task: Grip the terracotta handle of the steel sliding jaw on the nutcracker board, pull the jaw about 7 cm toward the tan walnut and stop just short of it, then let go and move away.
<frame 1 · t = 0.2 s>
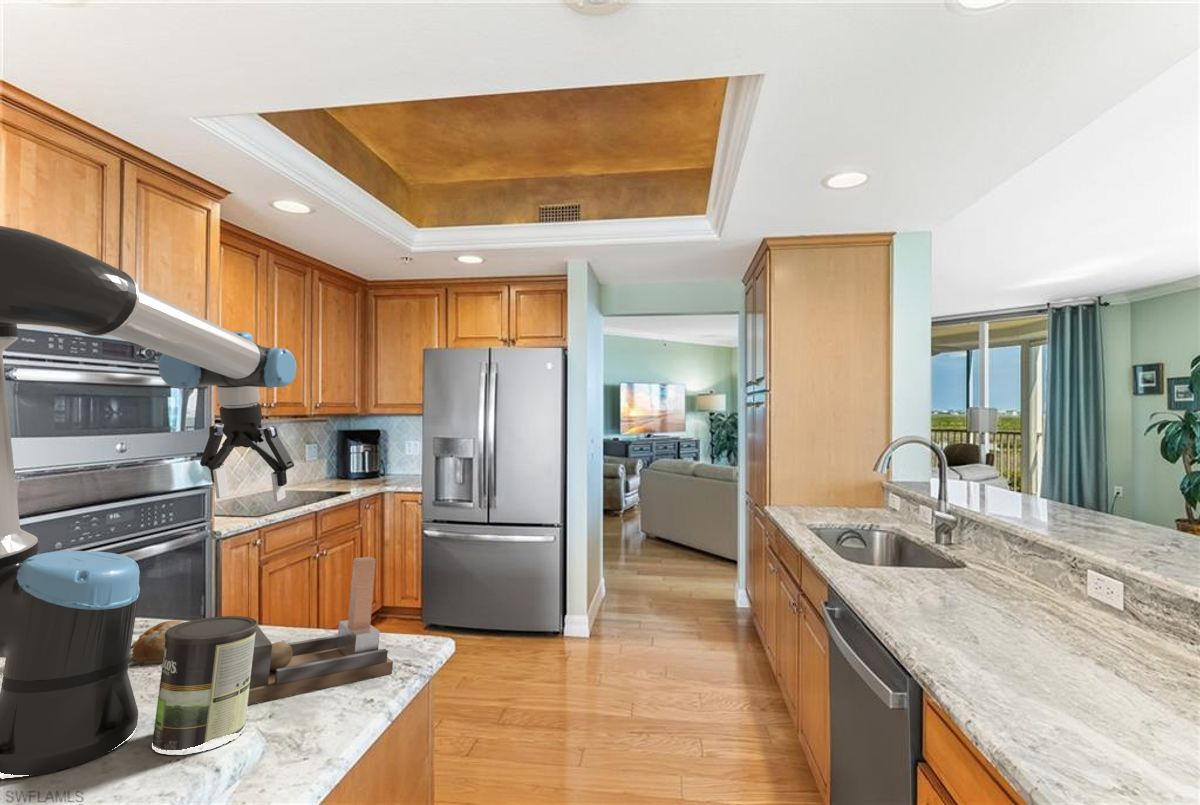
hand: (251, 498, 121), 28 cm above the counter, tool tilted 20°, fingers open, 13 cm apart
coffee can: (200, 737, 72), on the counter
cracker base: (313, 674, 94), on the counter
sliding jaw: (360, 605, 100), point 11 cm above the counter, slide at 0.0 cm
bread roll: (164, 657, 100), on the counter
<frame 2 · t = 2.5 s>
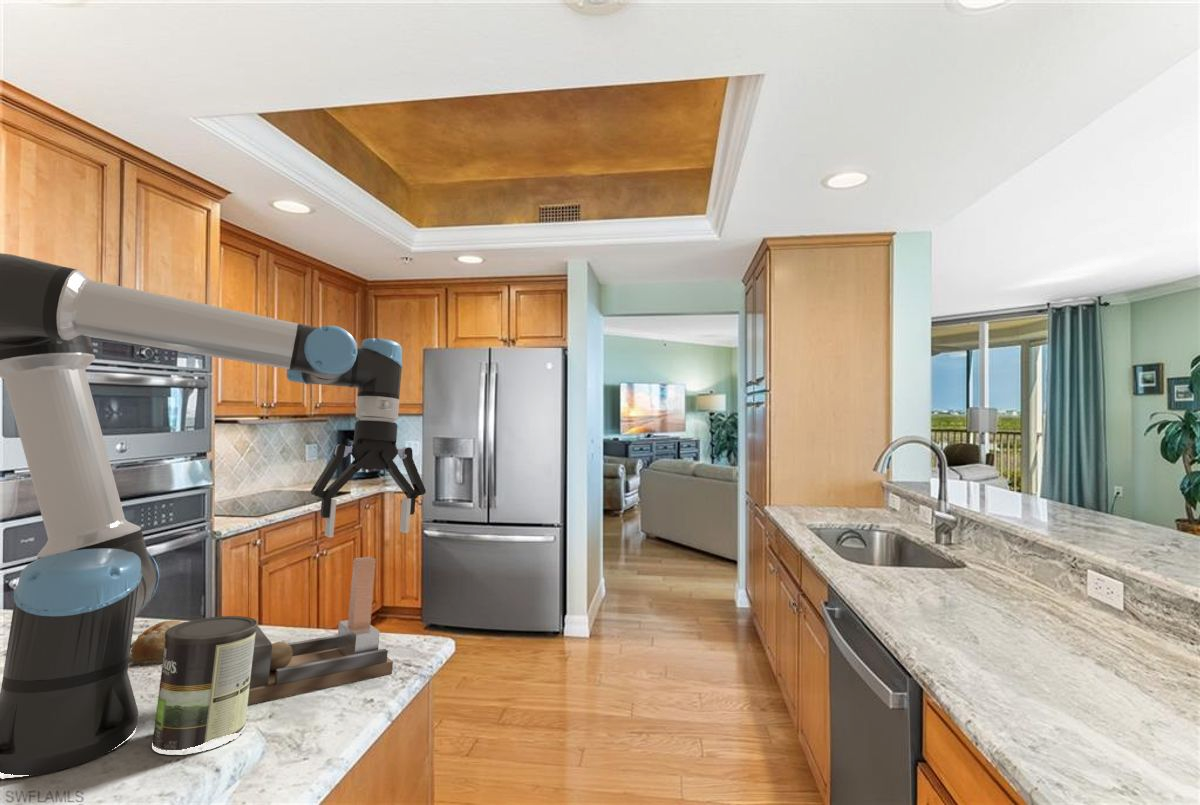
hand: (368, 534, 101), 23 cm above the counter, tool pointing down, fingers open, 13 cm apart
nothing on the counter moved.
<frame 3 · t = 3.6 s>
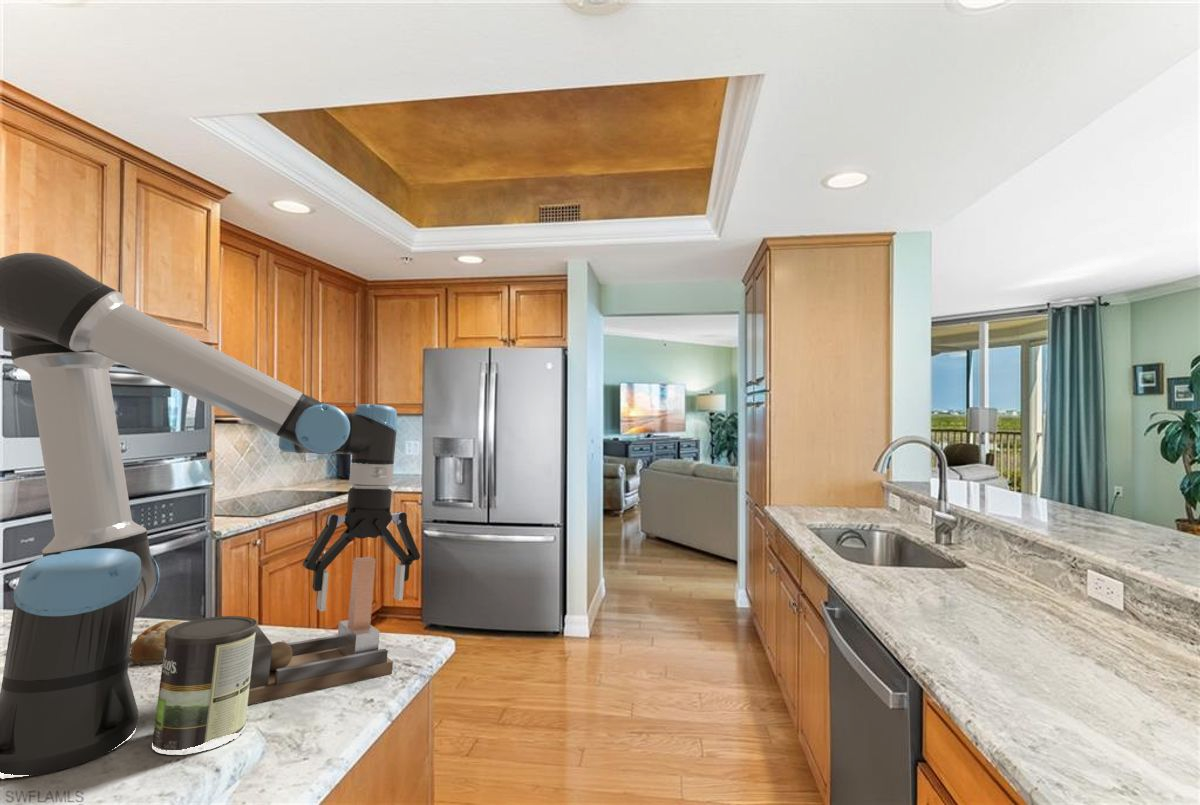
hand: (361, 604, 100), 11 cm above the counter, tool pointing down, fingers open, 13 cm apart
nothing on the counter moved.
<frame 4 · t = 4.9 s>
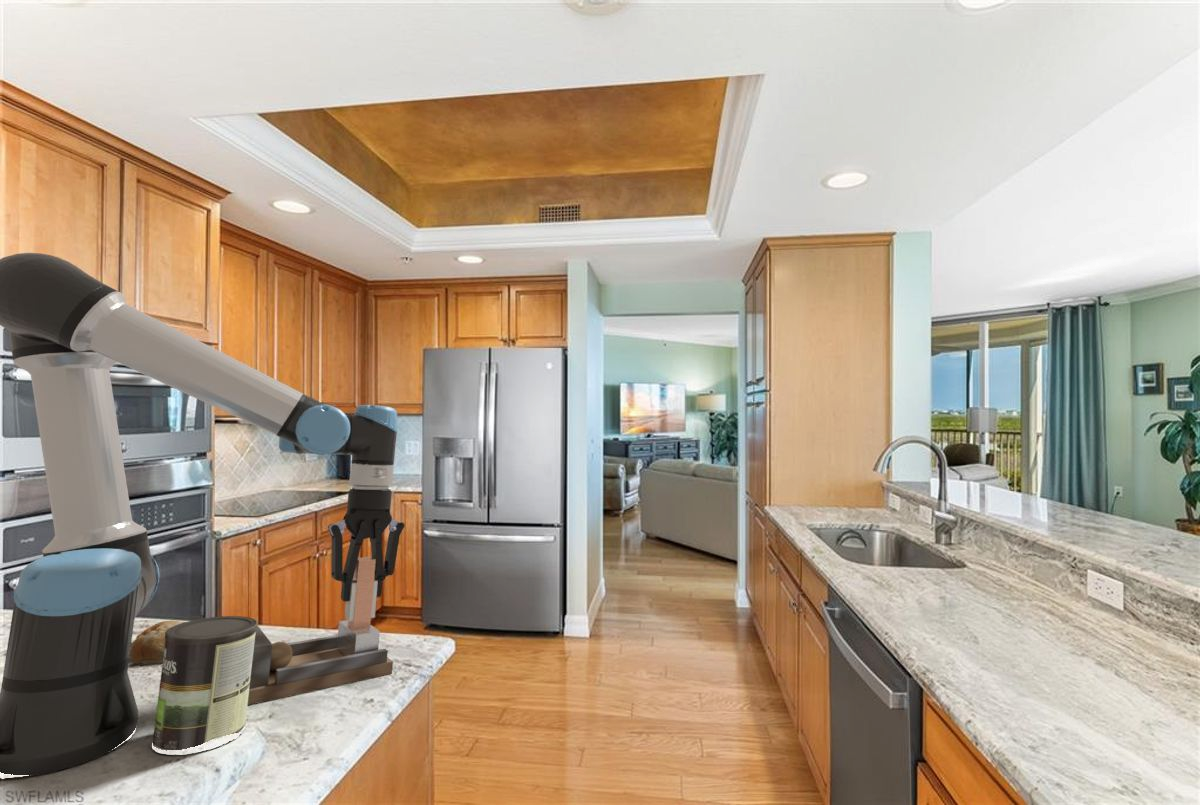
hand: (359, 617, 99), 9 cm above the counter, tool pointing down, fingers closed on sliding jaw, 3 cm apart
sliding jaw: (360, 605, 100), point 11 cm above the counter, slide at 0.0 cm, touching gripper
everything else where it was.
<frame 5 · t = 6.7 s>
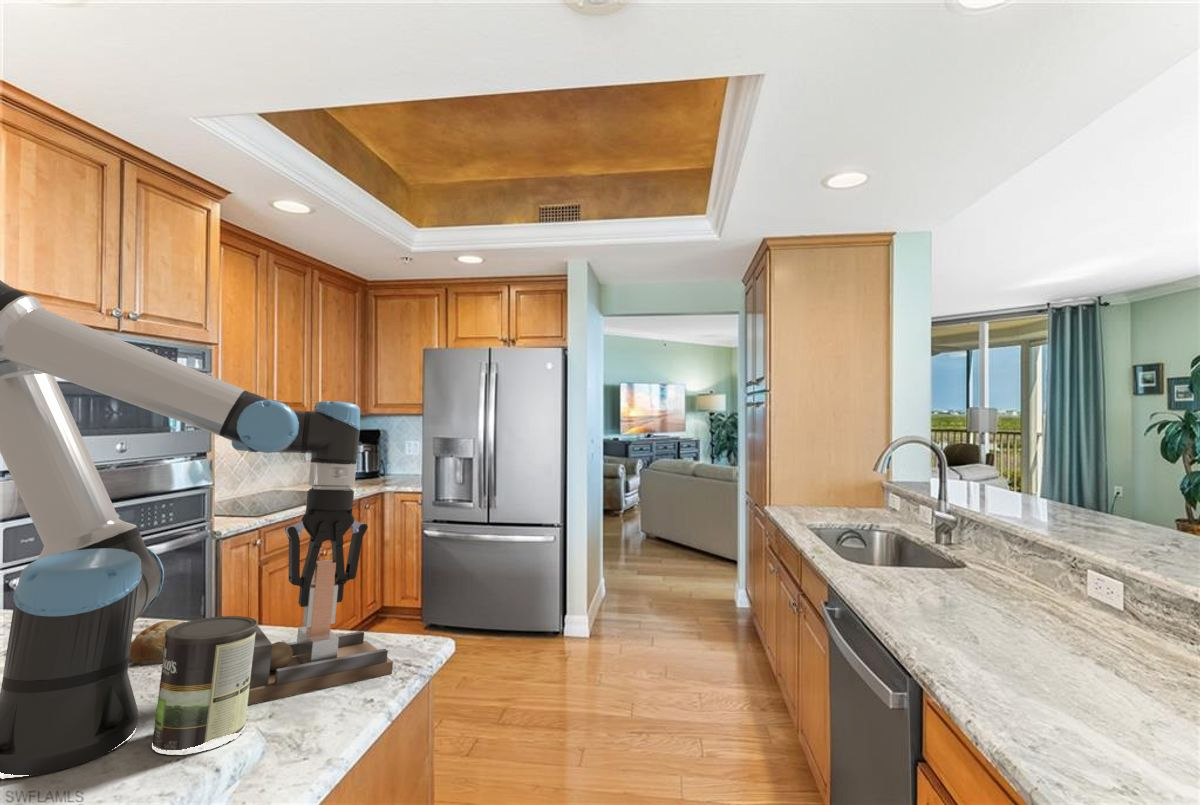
hand: (318, 623, 95), 9 cm above the counter, tool pointing down, fingers closed on sliding jaw, 3 cm apart
sliding jaw: (320, 610, 95), point 11 cm above the counter, slide at 6.9 cm, touching gripper
everything else where it was.
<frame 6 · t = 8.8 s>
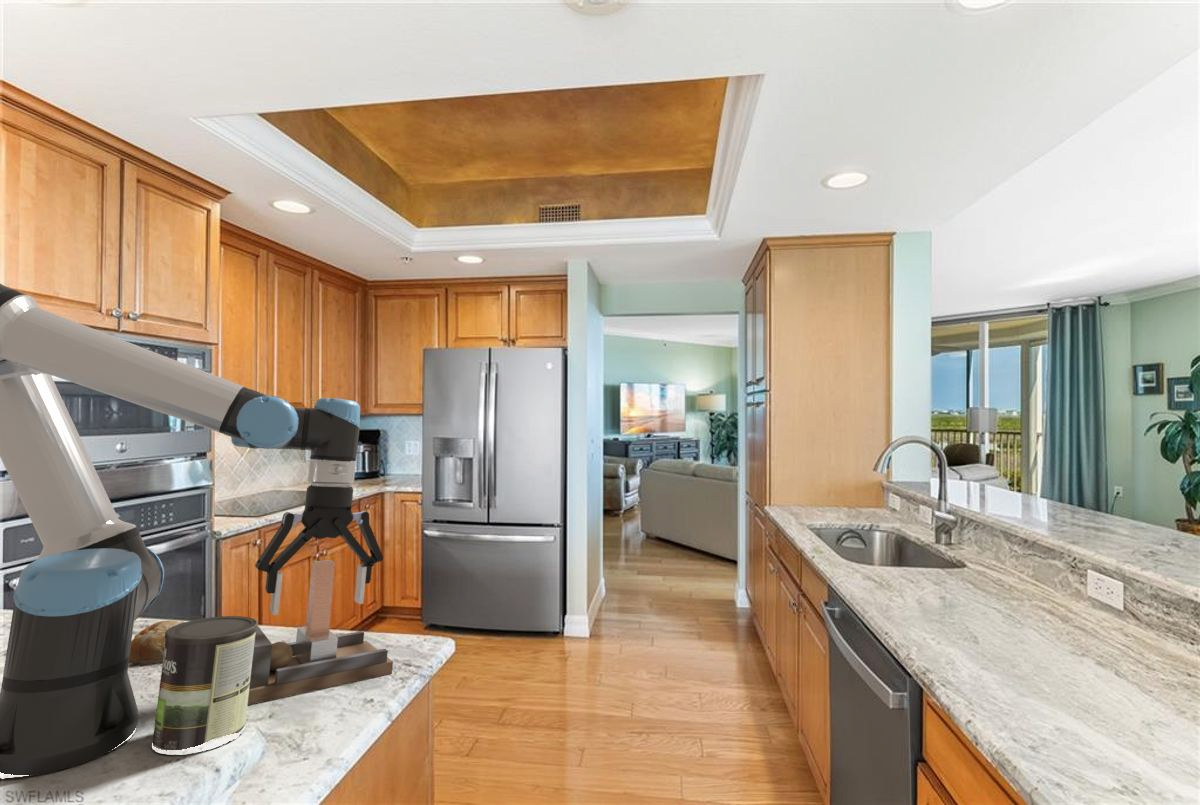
hand: (318, 607, 95), 11 cm above the counter, tool pointing down, fingers open, 13 cm apart
sliding jaw: (319, 610, 95), point 11 cm above the counter, slide at 7.0 cm
everything else where it was.
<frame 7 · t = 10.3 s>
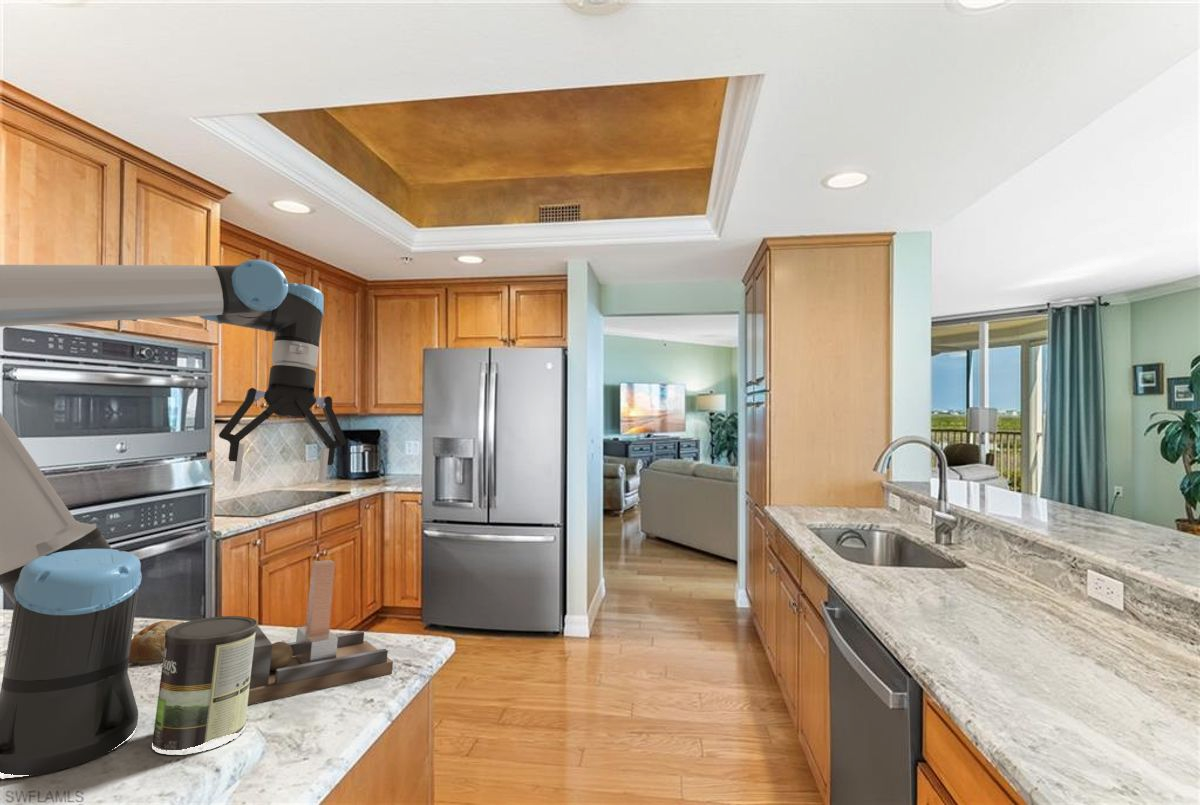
hand: (280, 482, 99), 33 cm above the counter, tool pointing down, fingers open, 13 cm apart
nothing on the counter moved.
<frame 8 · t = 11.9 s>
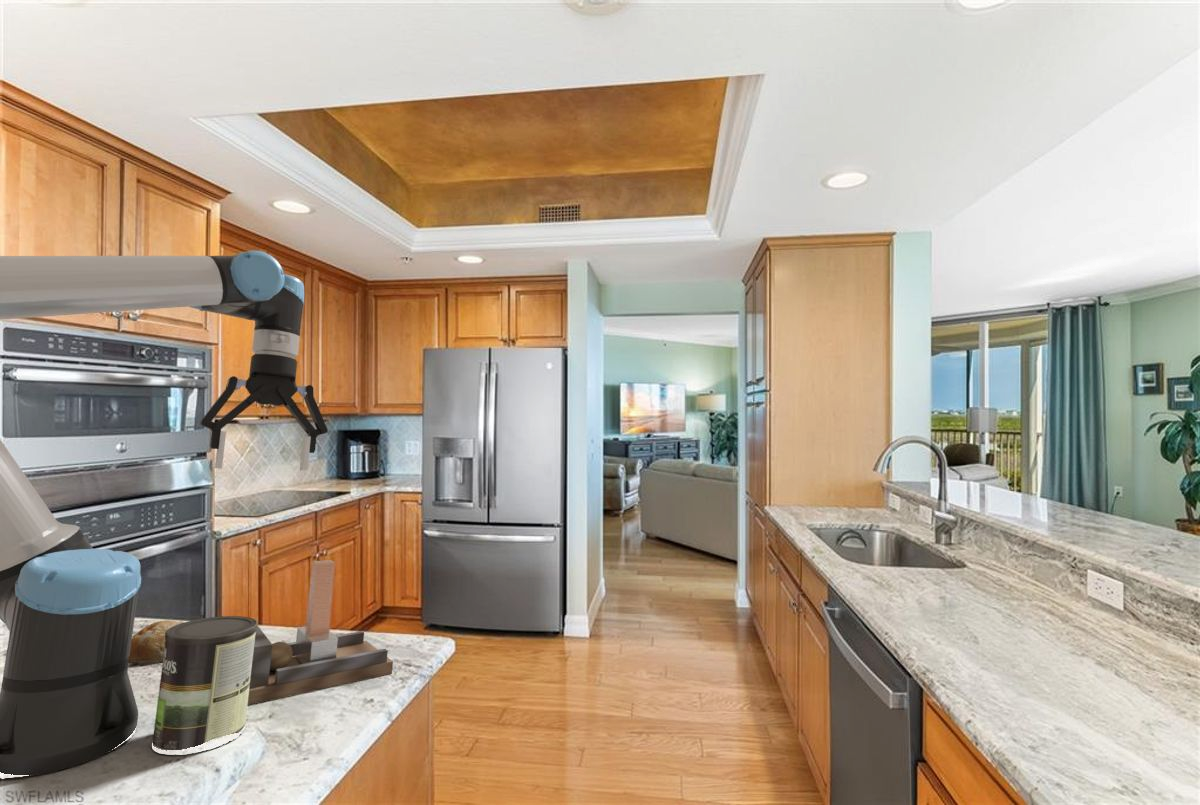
hand: (262, 469, 100), 35 cm above the counter, tool pointing down, fingers open, 13 cm apart
at the end: sliding jaw slide at 7.0 cm; the gripper is holding nothing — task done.
